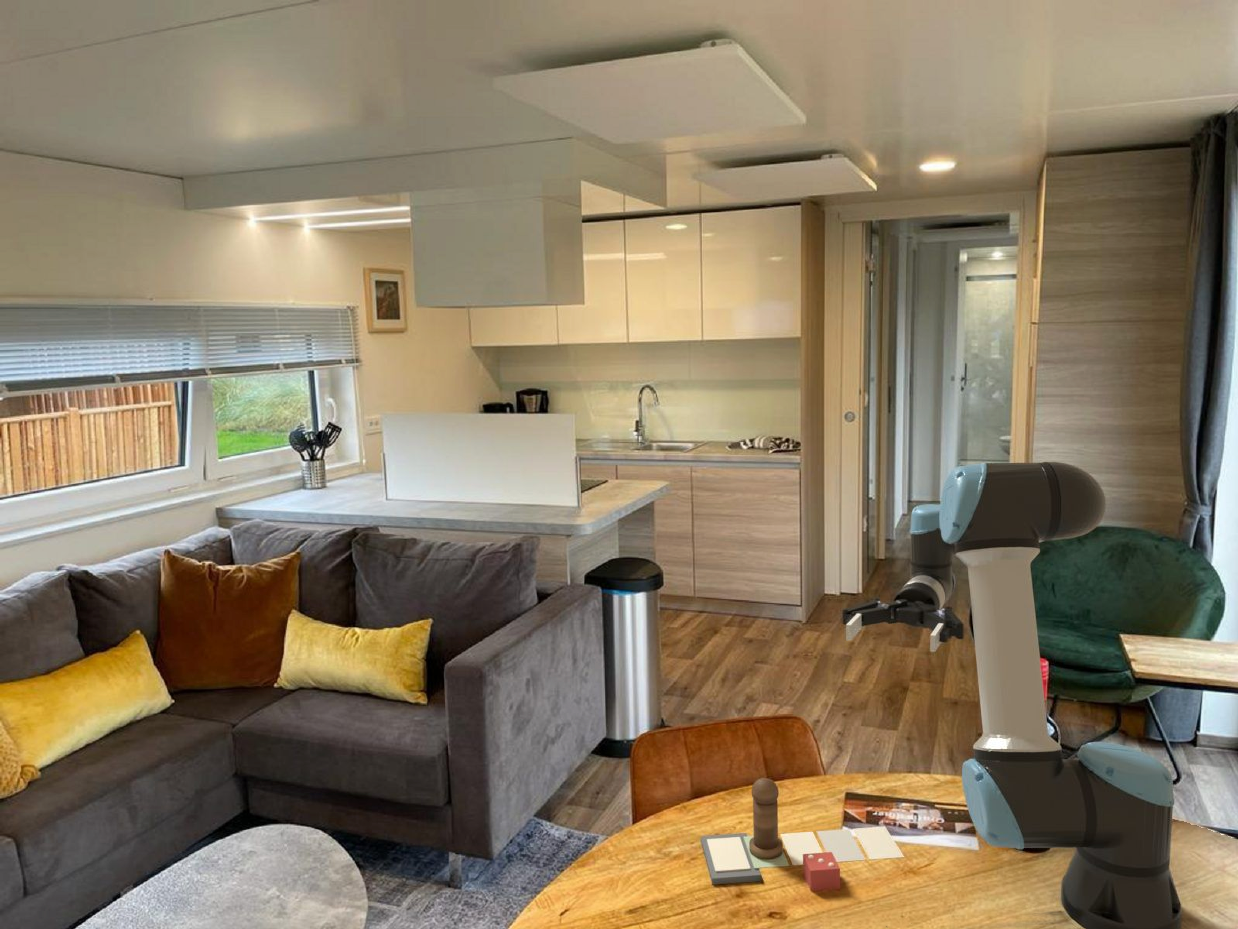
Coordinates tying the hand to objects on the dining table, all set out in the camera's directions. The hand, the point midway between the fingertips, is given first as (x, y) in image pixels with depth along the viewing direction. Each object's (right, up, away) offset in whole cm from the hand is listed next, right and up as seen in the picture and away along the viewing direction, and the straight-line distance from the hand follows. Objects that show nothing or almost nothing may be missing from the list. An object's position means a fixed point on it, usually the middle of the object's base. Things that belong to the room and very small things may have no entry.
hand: (889, 638), depth 157 cm
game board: (-15, -34, -4) cm, 37 cm away
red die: (-14, -35, -13) cm, 40 cm away
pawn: (-21, -33, -4) cm, 39 cm away
